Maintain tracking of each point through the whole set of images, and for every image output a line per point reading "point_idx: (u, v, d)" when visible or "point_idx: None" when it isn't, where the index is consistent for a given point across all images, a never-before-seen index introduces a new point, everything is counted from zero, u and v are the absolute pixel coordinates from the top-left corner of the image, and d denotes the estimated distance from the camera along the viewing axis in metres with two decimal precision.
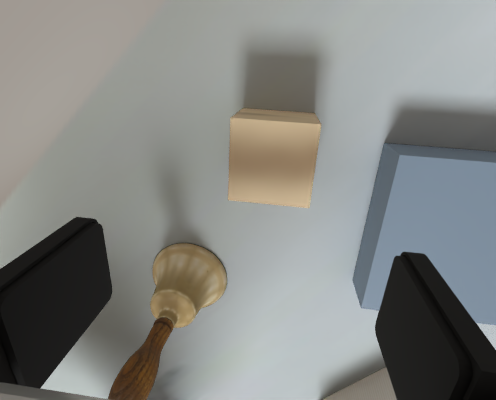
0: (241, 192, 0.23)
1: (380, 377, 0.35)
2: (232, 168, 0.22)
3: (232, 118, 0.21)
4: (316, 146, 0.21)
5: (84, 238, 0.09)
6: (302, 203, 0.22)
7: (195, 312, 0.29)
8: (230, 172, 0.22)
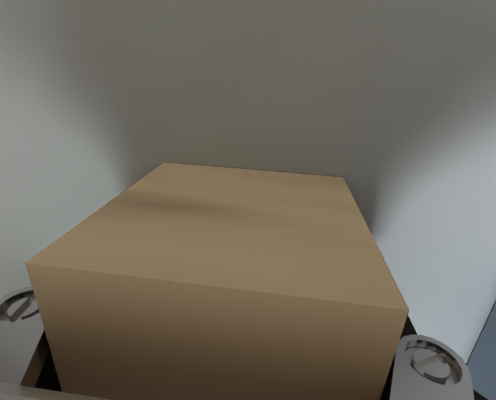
0: None
1: None
2: None
3: (36, 263, 0.05)
4: (379, 378, 0.05)
5: None
6: None
7: None
8: None
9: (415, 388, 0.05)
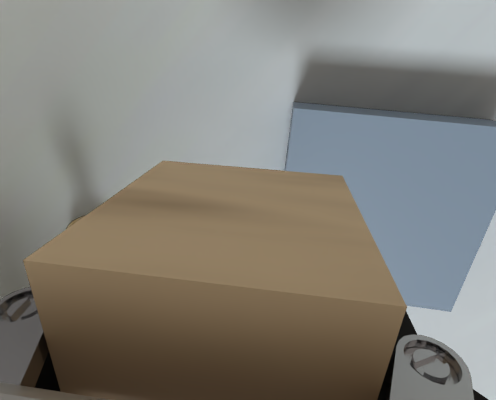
0: None
1: None
2: None
3: (33, 261, 0.05)
4: (377, 376, 0.05)
5: None
6: None
7: None
8: None
9: (415, 388, 0.05)
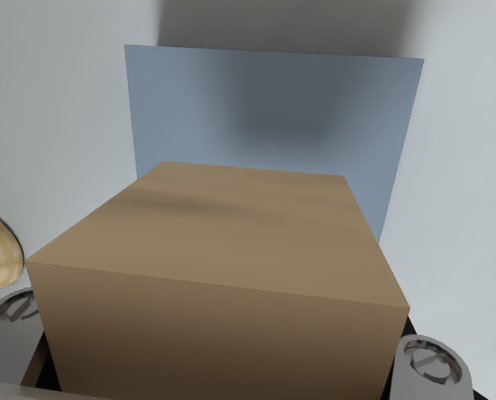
0: None
1: None
2: None
3: (35, 261, 0.05)
4: (380, 377, 0.05)
5: None
6: None
7: None
8: None
9: (415, 388, 0.05)
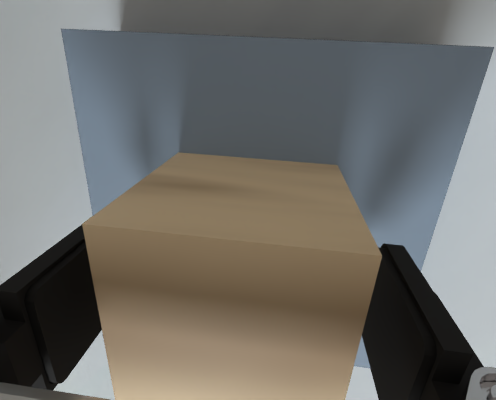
0: None
1: None
2: (114, 349, 0.08)
3: (90, 225, 0.06)
4: (361, 315, 0.06)
5: None
6: None
7: None
8: (111, 357, 0.08)
9: None
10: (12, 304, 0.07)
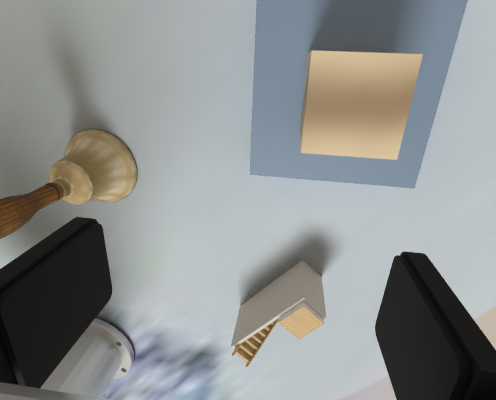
0: (317, 143, 0.20)
1: (292, 271, 0.35)
2: (308, 114, 0.19)
3: (313, 51, 0.18)
4: (413, 82, 0.17)
5: (84, 238, 0.09)
6: (389, 154, 0.19)
7: (91, 185, 0.29)
8: (306, 119, 0.19)
9: None
10: None
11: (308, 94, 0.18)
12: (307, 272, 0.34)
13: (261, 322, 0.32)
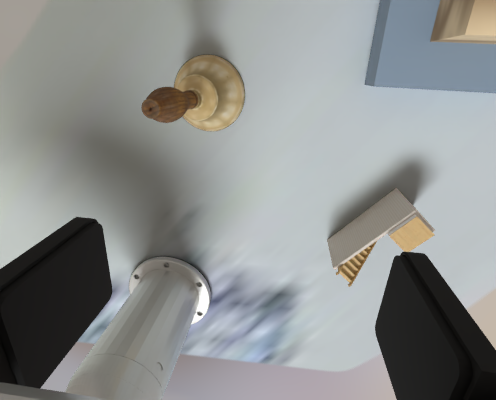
0: (483, 23, 0.21)
1: (386, 198, 0.37)
2: None
3: None
4: None
5: (84, 238, 0.09)
6: None
7: (217, 100, 0.30)
8: None
9: None
10: None
11: None
12: None
13: (366, 240, 0.34)
